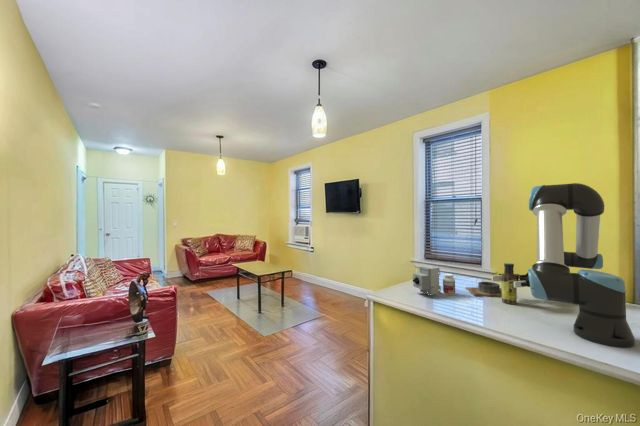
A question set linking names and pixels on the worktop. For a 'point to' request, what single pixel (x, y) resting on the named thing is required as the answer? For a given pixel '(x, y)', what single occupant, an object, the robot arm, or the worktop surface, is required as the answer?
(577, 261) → the robot arm
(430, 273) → the circuit breaker
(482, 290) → the bottle holder
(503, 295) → the sauce bottle
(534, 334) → the worktop surface
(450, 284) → the pill bottle
